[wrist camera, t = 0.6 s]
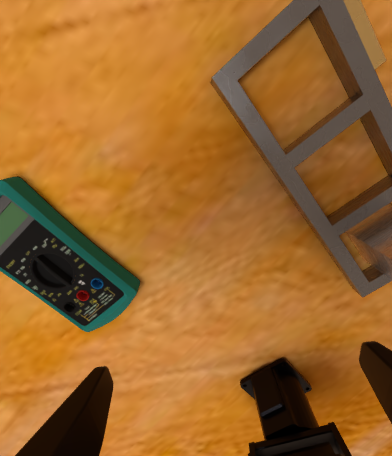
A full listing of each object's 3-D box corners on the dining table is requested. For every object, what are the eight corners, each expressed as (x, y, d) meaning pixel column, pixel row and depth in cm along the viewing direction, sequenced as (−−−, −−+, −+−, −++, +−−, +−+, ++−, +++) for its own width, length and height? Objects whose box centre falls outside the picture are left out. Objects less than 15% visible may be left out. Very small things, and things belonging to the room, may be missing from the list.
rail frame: (454, 228, 21) (473, 234, 20) (352, 287, 24) (362, 297, 22) (338, -39, 14) (353, -57, 13) (210, 82, 17) (211, 77, 15)
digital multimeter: (100, 320, 25) (88, 342, 23) (-28, 225, 21) (-60, 238, 18) (147, 282, 24) (141, 301, 21) (19, 170, 19) (-9, 176, 17)
